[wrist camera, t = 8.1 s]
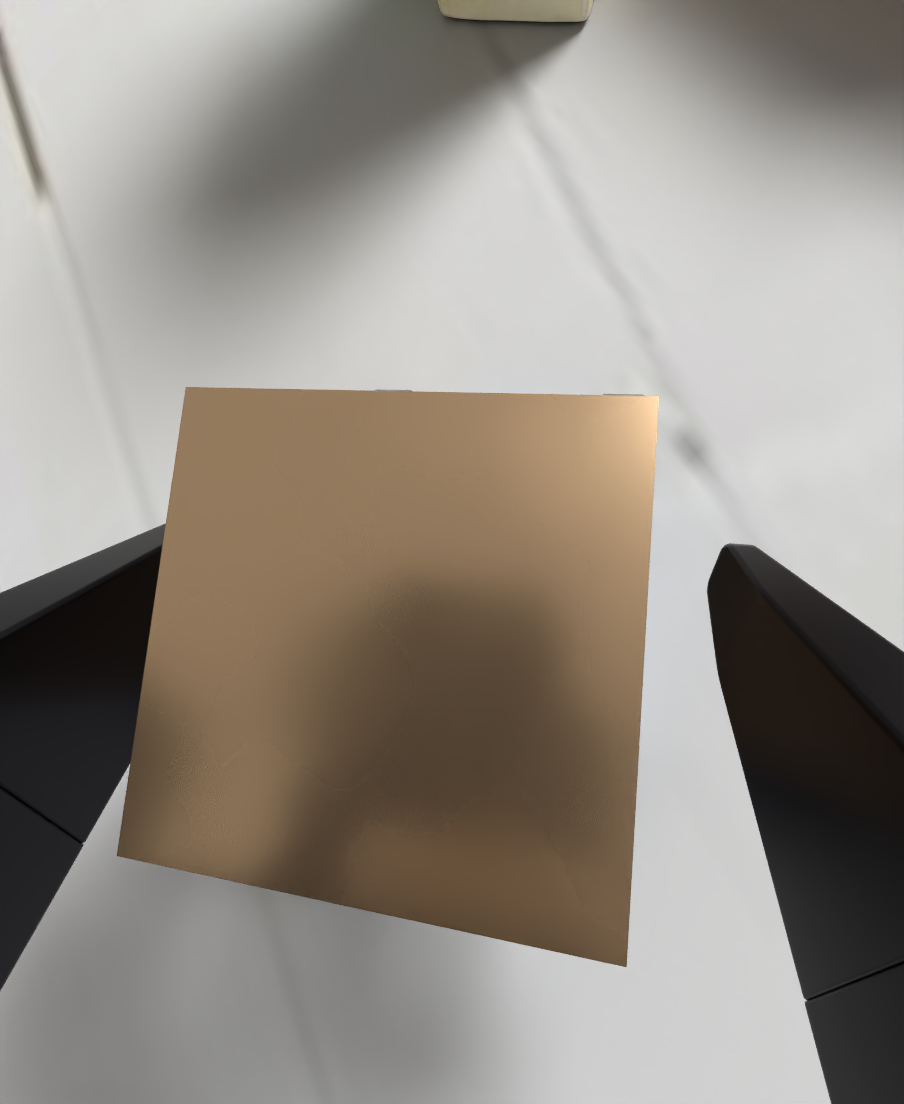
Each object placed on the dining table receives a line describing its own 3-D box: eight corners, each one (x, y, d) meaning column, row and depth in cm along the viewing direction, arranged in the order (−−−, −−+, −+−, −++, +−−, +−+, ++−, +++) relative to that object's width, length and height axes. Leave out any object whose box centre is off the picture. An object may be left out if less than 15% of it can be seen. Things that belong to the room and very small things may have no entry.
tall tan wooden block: (553, 692, 16) (626, 966, 4) (410, 674, 17) (117, 856, 5) (564, 544, 16) (659, 396, 4) (423, 534, 17) (185, 386, 5)
